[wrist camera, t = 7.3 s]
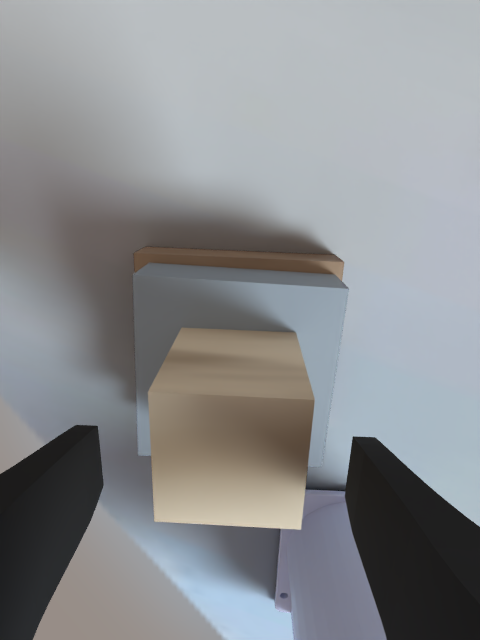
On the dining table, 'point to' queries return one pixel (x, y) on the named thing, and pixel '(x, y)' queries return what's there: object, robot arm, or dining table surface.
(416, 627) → the robot arm
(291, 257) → the walnut base block
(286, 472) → the birch block
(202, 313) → the slate top block
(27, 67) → the dining table surface
